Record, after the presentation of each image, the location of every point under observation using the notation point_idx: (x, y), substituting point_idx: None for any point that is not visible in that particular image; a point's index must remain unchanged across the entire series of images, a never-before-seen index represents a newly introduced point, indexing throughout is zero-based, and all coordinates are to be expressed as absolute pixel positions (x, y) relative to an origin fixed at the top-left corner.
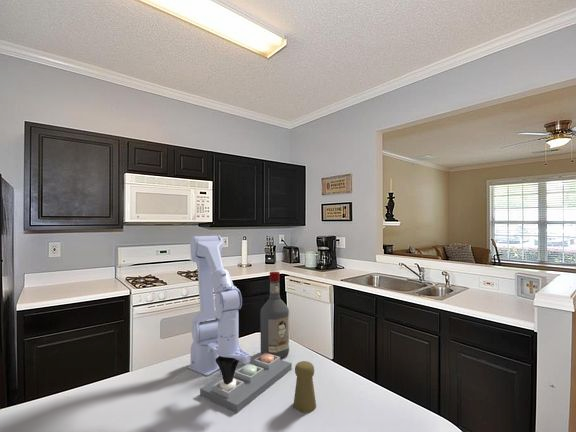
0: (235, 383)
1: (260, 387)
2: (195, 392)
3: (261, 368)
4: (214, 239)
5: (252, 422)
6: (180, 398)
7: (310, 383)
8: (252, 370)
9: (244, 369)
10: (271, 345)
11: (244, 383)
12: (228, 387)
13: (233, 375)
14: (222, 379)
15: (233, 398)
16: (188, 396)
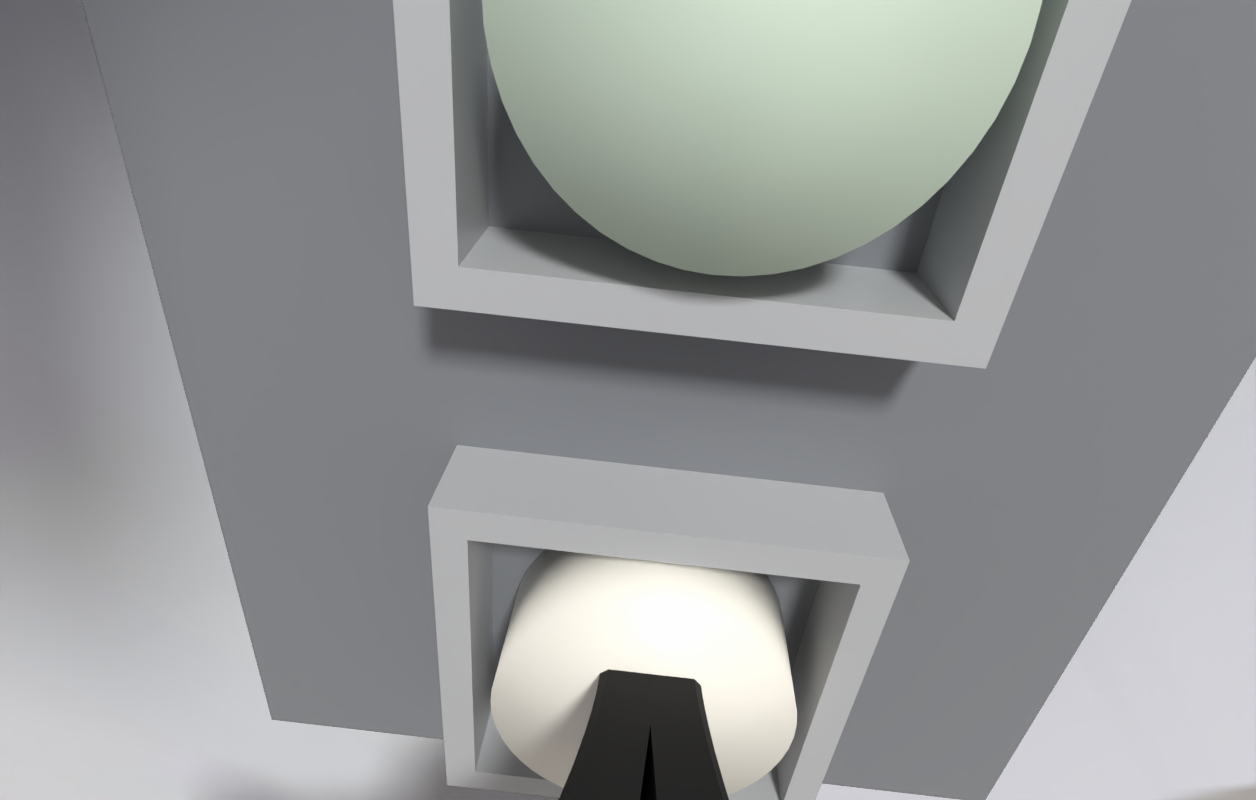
0: (795, 704)
1: (1240, 370)
2: (208, 613)
3: None
4: None
5: (1190, 753)
6: (195, 724)
7: None
8: (936, 96)
9: (628, 160)
10: None
11: (826, 399)
12: (733, 780)
13: (724, 798)
14: (330, 456)
15: (864, 736)
16: (225, 682)
